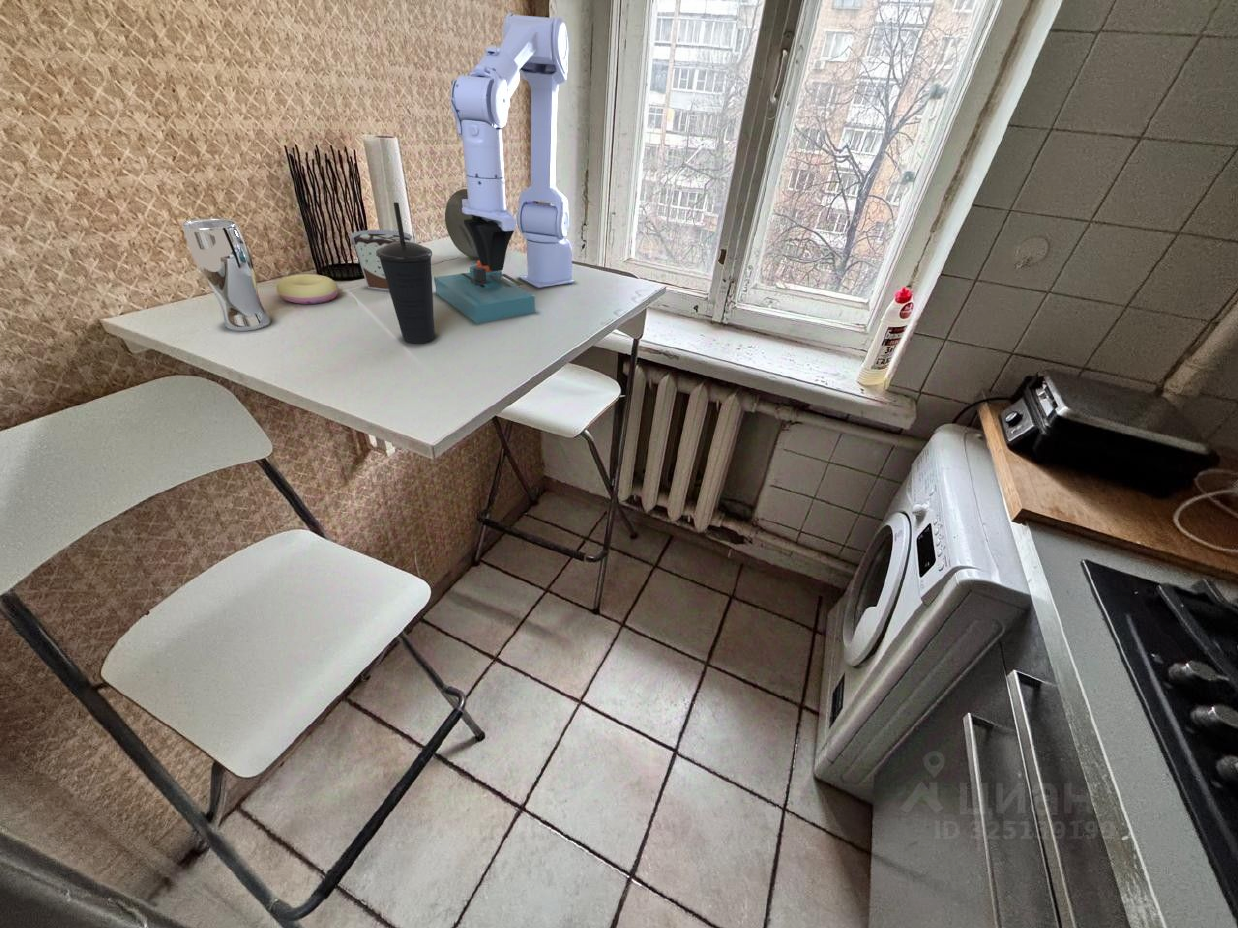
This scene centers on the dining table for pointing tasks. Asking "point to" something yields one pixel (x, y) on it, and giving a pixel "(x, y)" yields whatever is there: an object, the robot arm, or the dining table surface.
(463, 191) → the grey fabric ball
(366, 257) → the food container
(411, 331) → the drinking cup
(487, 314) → the teal control box
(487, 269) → the button
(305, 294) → the donut
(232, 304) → the chrome curved vase
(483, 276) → the slider
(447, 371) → the dining table surface
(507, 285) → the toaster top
